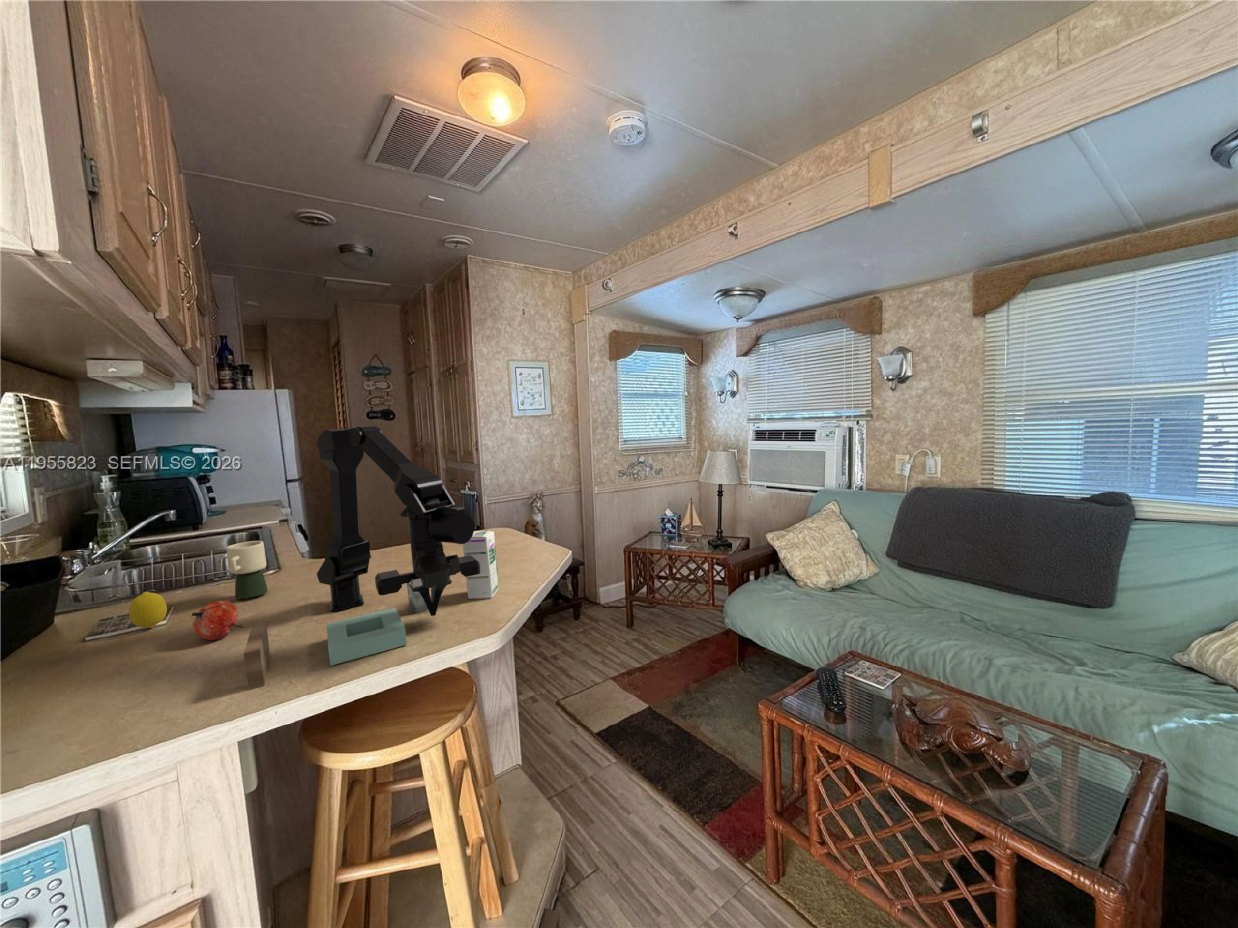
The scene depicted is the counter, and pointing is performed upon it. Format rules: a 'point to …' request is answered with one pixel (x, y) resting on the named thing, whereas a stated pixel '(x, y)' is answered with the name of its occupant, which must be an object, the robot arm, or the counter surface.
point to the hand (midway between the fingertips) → (433, 615)
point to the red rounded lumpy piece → (215, 620)
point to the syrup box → (482, 565)
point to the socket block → (365, 635)
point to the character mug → (248, 568)
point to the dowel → (415, 602)
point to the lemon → (147, 610)
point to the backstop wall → (257, 656)
